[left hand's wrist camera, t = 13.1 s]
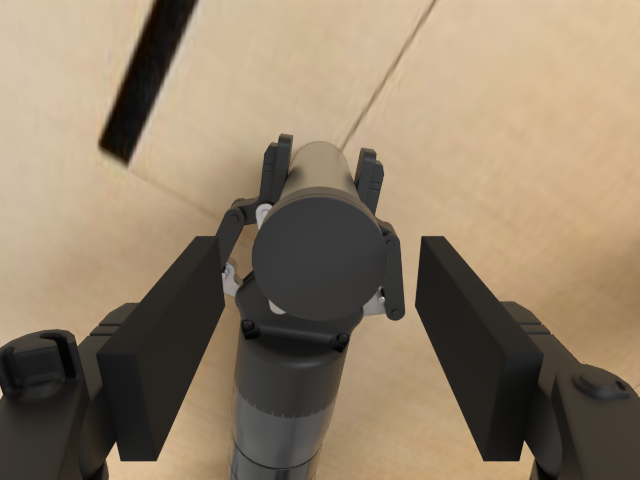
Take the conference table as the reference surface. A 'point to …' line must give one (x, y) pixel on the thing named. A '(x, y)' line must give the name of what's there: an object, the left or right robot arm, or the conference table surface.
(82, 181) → the conference table surface
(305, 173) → the jar
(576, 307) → the conference table surface
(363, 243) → the lid
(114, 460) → the conference table surface
